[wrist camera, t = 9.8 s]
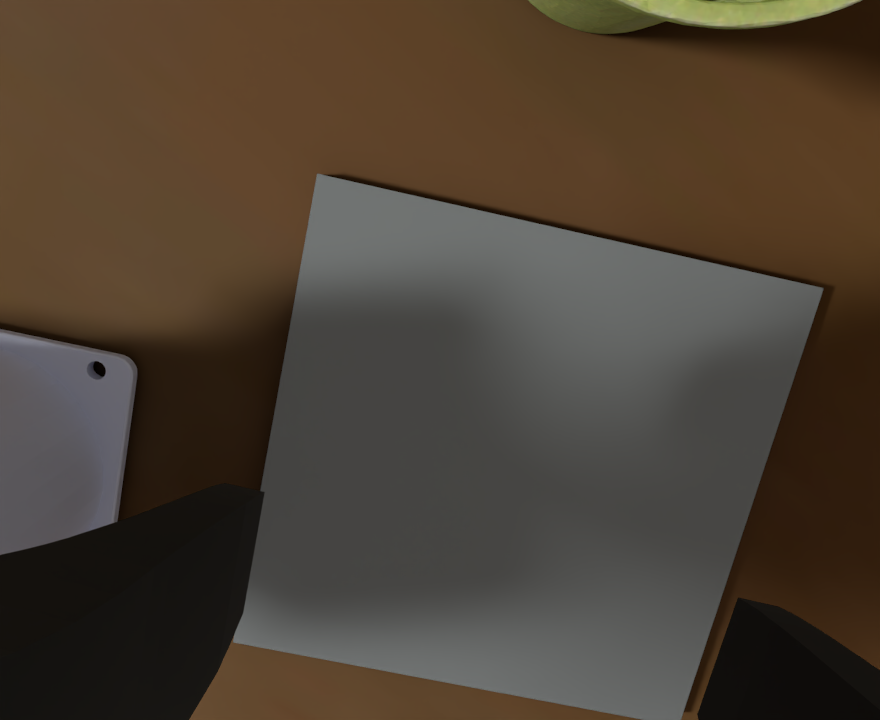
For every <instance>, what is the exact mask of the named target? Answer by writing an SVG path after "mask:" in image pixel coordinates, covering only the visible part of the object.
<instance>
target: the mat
mask: <svg viewBox="0 0 880 720" xmlns="http://www.w3.org/2000/svg"><path fill="white" fill-rule="evenodd" d="M823 289H824V288H821V287H816V286H812V285H808V284H803V283H799V282H794V281H790V280H785V279H781V278H777V277H772V276H768V275H763V274H759V273H754V272H750V271H746V270H741V269H737V268H732V267H728V266H723V265H719V264H715V263H710V262H706V261H701V260H697V259H693V258H688V257H684V256H679V255H675V254H670V253H666V252H662V251H657V250H653V249H648V248H644V247H639V246H635V245H631V244H626V243H622V242H617V241H613V240H608V239H604V238H600V237H595V236H591V235H586V234H582V233H578V232H573V231H569V230H564V229H560V228H555V227H551V226H547V225H542V224H538V223H533V222H529V221H524V220H520V219H516V218H511V217H507V216H502V215H498V214H494V213H489V212H485V211H480V210H476V209H471V208H467V207H463V206H458V205H454V204H449V203H445V202H440V201H436V200H432V199H427V198H423V197H418V196H414V195H409V194H405V193H401V192H396V191H392V190H387V189H383V188H379V187H374V186H370V185H365V184H361V183H356V182H352V181H348V180H343V179H339V178H334V177H330V176H325V175H321V174H317V178H316V184H315V189H314V195H313V200H312V206H311V211H310V217H309V223H308V228H307V234H306V239H305V245H304V250H303V256H302V261H301V267H300V273H299V278H298V284H297V289H296V295H295V300H294V306H293V312H292V317H291V323H290V328H289V334H288V339H287V345H286V351H285V356H284V362H283V367H282V373H281V378H280V384H279V389H278V395H277V401H276V406H275V412H274V417H273V423H272V428H271V434H270V440H269V445H268V451H267V456H266V462H265V467H264V473H263V479H262V484H261V490H260V491H262V492H265V493H264V499H263V505H262V510H261V516H260V522H259V527H258V533H257V538H256V544H255V550H254V555H253V561H252V567H251V572H250V578H249V583H248V589H247V595H246V600H245V606H244V612H243V615H242V617H241V620H240V622H239V624H238V627H237V629H236V631H235V634H234V640H233V642H234V643H240V644H245V645H250V646H255V647H261V648H266V649H271V650H277V651H282V652H287V653H293V654H298V655H303V656H308V657H314V658H319V659H324V660H330V661H335V662H340V663H346V664H351V665H356V666H361V667H367V668H372V669H377V670H383V671H388V672H393V673H399V674H404V675H409V676H414V677H420V678H425V679H430V680H436V681H441V682H446V683H452V684H457V685H462V686H467V687H473V688H478V689H483V690H489V691H494V692H499V693H505V694H510V695H515V696H520V697H526V698H531V699H536V700H542V701H547V702H552V703H557V704H563V705H568V706H573V707H579V708H584V709H589V710H595V711H600V712H605V713H610V714H616V715H621V716H626V717H632V718H637V719H642V720H681V718H682V715H683V712H684V709H685V706H686V703H687V700H688V697H689V694H690V691H691V688H692V685H693V682H694V679H695V676H696V673H697V670H698V667H699V664H700V661H701V658H702V654H703V651H704V648H705V645H706V642H707V639H708V636H709V633H710V630H711V627H712V624H713V621H714V618H715V615H716V612H717V609H718V606H719V603H720V600H721V597H722V594H723V591H724V588H725V585H726V582H727V579H728V576H729V573H730V570H731V567H732V564H733V561H734V558H735V555H736V552H737V549H738V546H739V543H740V540H741V537H742V534H743V531H744V528H745V525H746V522H747V519H748V516H749V513H750V510H751V507H752V504H753V501H754V498H755V495H756V492H757V488H758V485H759V482H760V479H761V476H762V473H763V470H764V467H765V464H766V461H767V458H768V455H769V452H770V449H771V446H772V443H773V440H774V437H775V434H776V431H777V428H778V425H779V422H780V419H781V416H782V413H783V410H784V407H785V404H786V401H787V398H788V395H789V392H790V389H791V386H792V383H793V380H794V377H795V374H796V371H797V368H798V365H799V362H800V359H801V356H802V353H803V350H804V347H805V344H806V341H807V338H808V335H809V332H810V329H811V326H812V322H813V319H814V316H815V313H816V310H817V307H818V304H819V301H820V298H821V295H822V292H823Z"/></svg>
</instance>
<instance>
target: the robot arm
mask: <svg viewBox="0 0 880 720" xmlns="http://www.w3.org/2000/svg"><path fill="white" fill-rule="evenodd" d="M95 361H98V362H100V363H102V364H103V365H104V367H105V369H106V374H105V376H100V375H98V374H96V372H95V371H94V368H93V364H94V362H95ZM136 382H137V367H136V365H135V363H134V362H133V361H132V360H131V359H130V358H129V357H127V356H125V355H122V354H118V353H113V352H108V351H103V350H99V349H94V348H89V347H84V346H80V345H75V344H70V343H65V342H60V341H56V340H51V339H46V338H41V337H36V336H32V335H27V334H22V333H17V332H13V331H8V330H3V329H0V720H189V719H190V717H191V715H192V714H193V712H194V710H195V709H196V707H197V705H198V704H199V702H200V700H201V699H202V697H203V695H204V694H205V692H206V690H207V689H208V687H209V685H210V684H211V682H212V680H213V679H214V677H215V675H216V673H217V672H218V669H219V667H220V665H221V663H222V661H223V658H224V656H225V654H226V652H227V650H228V647H229V645H230V643H231V641H232V638H233V636H234V634H235V631H236V629H237V627H238V624H239V622H240V620H241V617H242V615H243V612H244V606H245V600H246V595H247V589H248V583H249V578H250V572H251V567H252V561H253V555H254V550H255V544H256V538H257V533H258V527H259V522H260V516H261V510H262V505H263V499H264V493H265V492H262V491H258V490H253V489H249V488H244V487H240V486H235V485H231V484H226V483H223V484H219V485H215V486H212V487H209V488H206V489H204V490H201V491H198V492H196V493H193V494H190V495H188V496H185V497H183V498H180V499H177V500H175V501H172V502H170V503H167V504H164V505H162V506H159V507H156V508H154V509H151V510H149V511H146V512H143V513H141V514H138V515H135V516H133V517H130V518H127V519H124V520H121V521H118V513H119V506H120V499H121V492H122V484H123V477H124V470H125V463H126V455H127V448H128V441H129V433H130V426H131V419H132V412H133V404H134V397H135V390H136ZM117 521H118V522H117ZM697 715H698V719H699V720H880V670H878V669H877V668H875V667H874V666H872V665H871V664H870V663H868V662H867V661H865V660H864V659H862V658H861V657H859V656H858V655H856V654H855V653H853V652H852V651H850V650H849V649H847V648H846V647H845V646H843V645H842V644H840V643H839V642H837V641H836V640H834V639H833V638H831V637H830V636H828V635H827V634H825V633H823V632H822V631H820V630H819V629H817V628H816V627H814V626H812V625H811V624H809V623H808V622H806V621H804V620H803V619H801V618H799V617H797V616H796V615H794V614H792V613H790V612H788V611H786V610H784V609H782V608H780V607H778V606H773V605H769V604H764V603H760V602H755V601H751V600H746V599H742V598H738V599H737V602H736V605H735V608H734V611H733V614H732V617H731V619H730V622H729V625H728V628H727V631H726V634H725V637H724V640H723V642H722V645H721V648H720V651H719V654H718V657H717V660H716V663H715V666H714V668H713V671H712V674H711V677H710V680H709V683H708V686H707V689H706V691H705V694H704V697H703V700H702V703H701V706H700V709H699V712H698V714H697Z"/></svg>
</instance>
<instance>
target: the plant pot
mask: <svg viewBox="0 0 880 720" xmlns="http://www.w3.org/2000/svg"><path fill="white" fill-rule="evenodd" d="M528 1H529V2H530V3H531V4H532V5H533V6H535V7H536V8H537V9H538V10H539V11H541V12H542V13H544V14H545V15H547V16H548V17H550V18H551V19H553V20H555V21H557V22H559V23H561V24H564V25H566V26H568V27H571V28H573V29H577V30H580V31H584V32H589V33H597V34H615V33H625V32H631V31H636V30H639V29H643V28H646V27H650V26H653V25H656V24H659V23H662V22H665V21H669V22H673V23H677V24H681V25H687V26H696V27H705V28H715V29H753V28H767V27H773V26H779V25H784V24H789V23H794V22H798V21H802V20H807V19H811V18H815V17H818V16H822V15H825V14H829V13H831V12H834V11H837V10H840V9H843V8H846V7H848V6H851V5H853V4H855V3H857V2H860V1H862V0H528Z"/></svg>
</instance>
